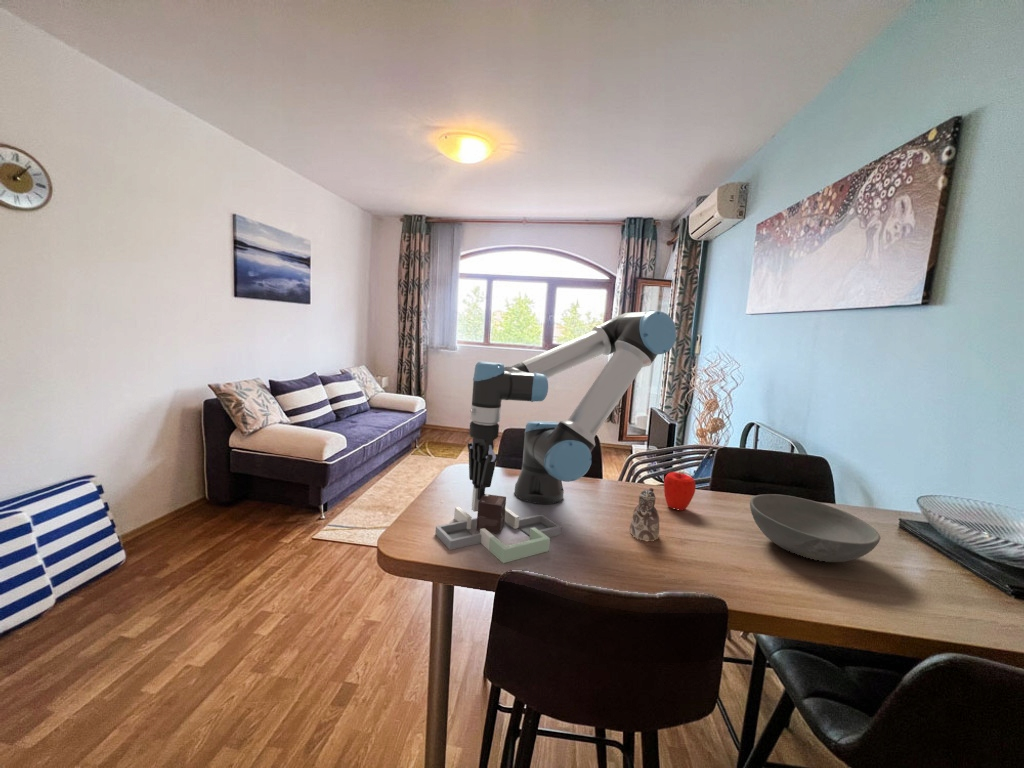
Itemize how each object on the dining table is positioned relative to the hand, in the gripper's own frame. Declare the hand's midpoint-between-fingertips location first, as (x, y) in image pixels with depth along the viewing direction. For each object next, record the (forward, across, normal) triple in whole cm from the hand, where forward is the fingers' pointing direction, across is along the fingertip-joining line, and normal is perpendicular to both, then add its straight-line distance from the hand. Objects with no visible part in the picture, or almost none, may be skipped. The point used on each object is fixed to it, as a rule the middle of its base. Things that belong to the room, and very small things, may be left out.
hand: (477, 509), depth 110 cm
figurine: (+2, +26, +35) cm, 43 cm away
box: (+2, +7, 0) cm, 7 cm away
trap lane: (+2, +10, +1) cm, 11 cm away
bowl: (+1, +49, +68) cm, 83 cm away
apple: (+2, +17, +60) cm, 62 cm away
